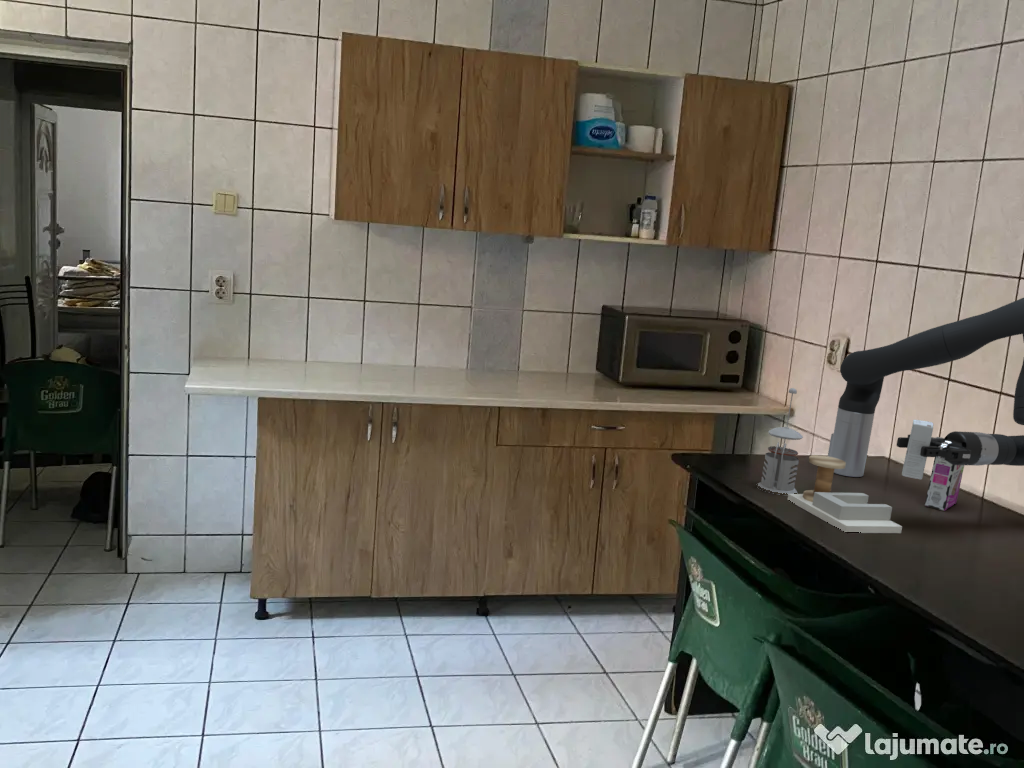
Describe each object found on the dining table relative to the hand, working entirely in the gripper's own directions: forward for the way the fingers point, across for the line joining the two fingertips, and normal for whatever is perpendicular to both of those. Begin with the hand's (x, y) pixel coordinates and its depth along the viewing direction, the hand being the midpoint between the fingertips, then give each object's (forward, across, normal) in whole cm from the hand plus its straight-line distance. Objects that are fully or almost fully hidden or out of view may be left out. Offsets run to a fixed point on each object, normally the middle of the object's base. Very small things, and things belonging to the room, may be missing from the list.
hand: (909, 446), depth 202 cm
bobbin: (+12, -12, +16) cm, 23 cm away
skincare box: (-2, 0, +7) cm, 7 cm away
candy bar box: (-24, -13, +18) cm, 33 cm away
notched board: (+11, -5, +18) cm, 21 cm away
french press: (+15, -24, +18) cm, 34 cm away
